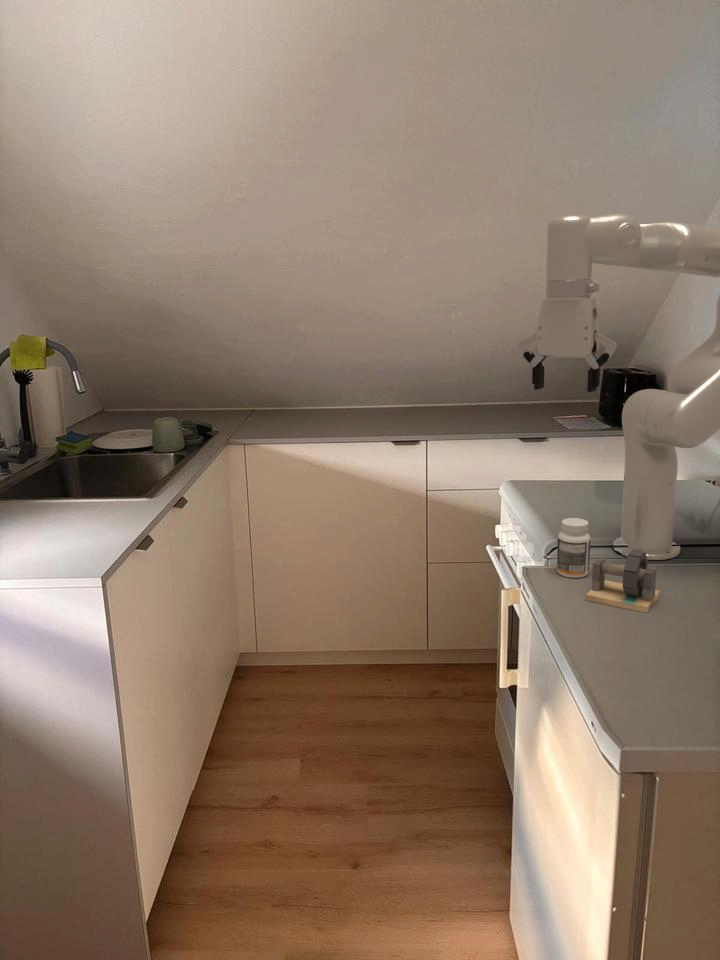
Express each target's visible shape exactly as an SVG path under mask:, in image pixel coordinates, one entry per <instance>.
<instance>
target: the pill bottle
mask: <svg viewBox="0 0 720 960" xmlns="http://www.w3.org/2000/svg"><path fill="white" fill-rule="evenodd" d="M560 525H561V531H560V532H559V533H558V535H557V548H556V549H557V553H556V572H557V573H558V574H559V575H560V576H563V577H566V578H572V579H579V578H584V577H587V575H588V574H589V573H590V561H591V560H590V556H591V555H590V554H591V540H592V539H591V535H590V534H589V533H588V532H587V531H588V530H589V522H588V520H586V519H583V518H578V517H568V518H564V519H562V520H561V524H560Z"/></svg>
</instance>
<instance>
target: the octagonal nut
mask: <svg viewBox="0 0 720 960" xmlns="http://www.w3.org/2000/svg"><path fill="white" fill-rule="evenodd" d="M648 561H649V560H647V556H646V553H645V552H642V551H636V550H632V551H631V552H630V553H629V554H628V556H626V560H625V564H624V566H625V567H624V571H623V577H622V583H623V590H624V592H625V594H626V595H631V596H636V597H638V596H639V595H640V594H641V593H642V590H643V586H644V580H640V581H638V580H637V576H638V570H639V567H641V568H642V569H646V570H647V569H648Z"/></svg>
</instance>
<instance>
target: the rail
mask: <svg viewBox="0 0 720 960" xmlns="http://www.w3.org/2000/svg"><path fill="white" fill-rule="evenodd" d="M624 567H625V565H621V564H617V563H610V562H606V558H600V557H598V558H597V559H596V560H595V561H593V563H592V571H591V572H592V575H591V578H592V579H591V589H590V590H589V591H588V592H587V593H586V594H585V597H584V598H585V600H584V601H586V602H587V601H588V602H592V603H597V604H602V605H606V606H611V607H616V608H620V609H625V610H631V611H636V612H641V613H646V614H648V612H649V611H650V609H651V608H652V607H653V605H654V604H655V603H656V602H657V600H658V599H659V597H660V596H661V595H660V594H661V590H660V589H659V590H658V589H656V588H657V587H656V585H657V569H658V567H654V566H647V570H646V569H642V568H641V567H639V570H638V576H637V580H638V581H640V580H644V586H643V590H642V593H641V594H640V595H639V596H638V597H636V596H631V595H626V594H625V592H624V590H623V582H618V581H617V582H616V581H611V580H605V575H606V574H607V575H613V576H618V577H622V578H623V571H624Z"/></svg>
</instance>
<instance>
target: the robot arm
mask: <svg viewBox="0 0 720 960" xmlns="http://www.w3.org/2000/svg"><path fill="white" fill-rule="evenodd" d="M546 239H547V240H546V243H547V244H546V246H547V248H546V275H545V276H546V280H545V281H546V283H545V299H542V301H541V304H540V309H539V314H538V321H537V327H536V333H534V334H532V335H530V336H528V337H526V338H525V339H522V340H521V341H519V342H518V347H519V349H520V351H521V353H522V354H523V355H522V357H523V358H524V359H525V360H526V361H527V363H529V365H530V367H531V369H532V370H531V371H532V372H531V373H532V376H531V379H532V380H531V384H532V385H533V389H534V391H535V390H536V391H538V390H541V389H543V388H544V387H545V365H543V362H545V360H546V359H547V358H567V359H568V358H571V359H572V358H573V359H577V358H578V359H581V358H583V359H585V361H586V362H587V363H588V365H589V366H590V368H589V369H588V370H587V386H586V387H587V388H586V391H587V392H588V393H593V392H595V391H597V390H598V389H597V388H599V386H600V383H601V381H600V379H601V368H602V367H603V366H604V365H605V364H606V363H607V362H608V361H609V360H610V359H611V358H612V355H613V354H614V352H615V350H616V349H617V347H618V343H617V342H616V341H614V340H612V339H611V338H609V337H607V336H605V335H604V334H601V333H600V331H599V330H600V329H599V328H600V327H599V326H600V325H599V314H598V305H597V300H596V298H592V297H591V296H592V295H593V293H596V292H599V291H600V283H595V282H593V279H592V275H593V272H592V269H593V268H592V267H593V264H597V265H603V266H604V265H605V266H606V265H607V266H615V267H628V268H636V269H642V270H649V271H657V272H658V271H661V272H670V273H680V274H687V275H695V276H703V277H708V278H709V277H710V278H720V228H718V227H711V226H704V225H699V224H692V223H686V222H678V221H669V222H668V221H667V222H664V221H663V222H655V223H644V224H642V223H641V224H640V222H639V221H638V220H637V219H636V218H634V217H633V216H632V215H629V214H626V213H620V212H619V213H611V214H601V215H598V216H588V215H584V214H583V215H581V214H579V215H578V214H575V215H573V214H572V215H562V216H557V217H553V218H552V219H550V221H549V223H548V225H547V238H546ZM715 314H716V318H715V327H714V329H713V332H712V333H711V335H709V337H708V338H706V340H705V341H703V343H702V344H700V345H699V346H698V347H697V348H696V349H694V350H693V351H692V352H691V353H690V354H688V356H686V357H684V359H682V361H680V362H679V363H678V364H677V365H676V366H675V367H674V368H673V369H672V370H671V372H670V373H669V375H668V378H667V382H666V388H667V390H663V389H655V388H646V389H642V390H641V389H640V390H638V391H636V392H634V393H633V394H632V395H630V396H629V397H628V398H627V399H626V401H625V403H624V405H623V408H622V413H621V425H622V432H623V437H624V456H625V457H624V471H623V490H622V507H621V508H622V509H621V528H620V536H621V537H622V538H623V540H624V541H625V542H626V544H627V546H628V548H629V549H625V550H624V549H623V550H622V555H621V556H625V557H627V556H628V554H629V553H630V552H631V551H632V550H636V551H642V552H645V553H646V556H647V560H648V561H663V560H669V559H670V560H671V559H674V558H675V557H678V556H679V555H680V553H681V546H680V545H679V546H672V541H673V536H674V535H673V534H674V525H675V524H674V521H675V508H676V495H677V494H676V493H677V481H678V469H679V468H678V455H677V451H676V448H681V449H690V448H691V449H692V448H695V447H698V446H701V445H702V444H704V443H705V442H707V441H709V439H710V438H711V437H712V436H714V435H715V434H716V433H717V432H719V431H720V294H719V296H718V298H717V302H716V313H715ZM534 343H535V350H536V355H535V354H534V352H532V350H531V348H530V347H531V345H532V344H534ZM599 344H600V345H602V346H604V348H605V350H604V351H603V353H602V354H601V355H600V356H598V355H597V354H598V351H599V348H600V345H599Z"/></svg>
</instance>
